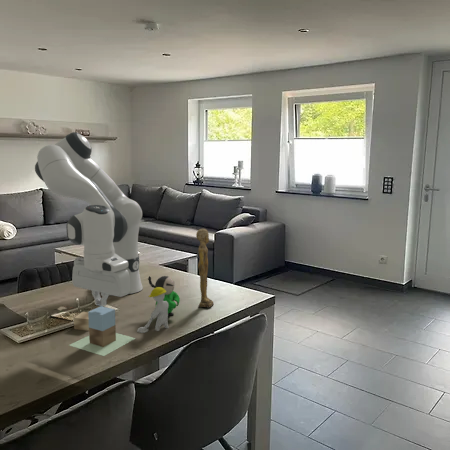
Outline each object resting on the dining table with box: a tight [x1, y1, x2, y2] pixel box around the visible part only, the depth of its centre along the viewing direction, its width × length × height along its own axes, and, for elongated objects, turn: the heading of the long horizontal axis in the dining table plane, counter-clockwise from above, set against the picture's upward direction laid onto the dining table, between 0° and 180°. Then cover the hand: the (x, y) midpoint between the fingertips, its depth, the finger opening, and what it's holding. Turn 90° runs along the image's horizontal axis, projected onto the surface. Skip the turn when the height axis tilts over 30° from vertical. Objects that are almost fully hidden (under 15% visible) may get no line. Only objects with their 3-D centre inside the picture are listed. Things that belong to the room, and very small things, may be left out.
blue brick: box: [87, 305, 116, 331], centre depth 138 cm, size 6×6×5 cm
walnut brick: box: [88, 324, 117, 347], centre depth 139 cm, size 6×6×5 cm
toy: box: [147, 275, 181, 317], centre depth 162 cm, size 10×11×15 cm
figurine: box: [136, 287, 170, 334], centre depth 149 cm, size 10×9×15 cm
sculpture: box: [195, 228, 215, 308], centre depth 172 cm, size 7×6×30 cm
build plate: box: [68, 332, 136, 357], centre depth 140 cm, size 14×14×1 cm
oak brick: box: [73, 311, 89, 332], centre depth 151 cm, size 6×6×5 cm
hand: (100, 305), depth 138 cm, fingers closed
